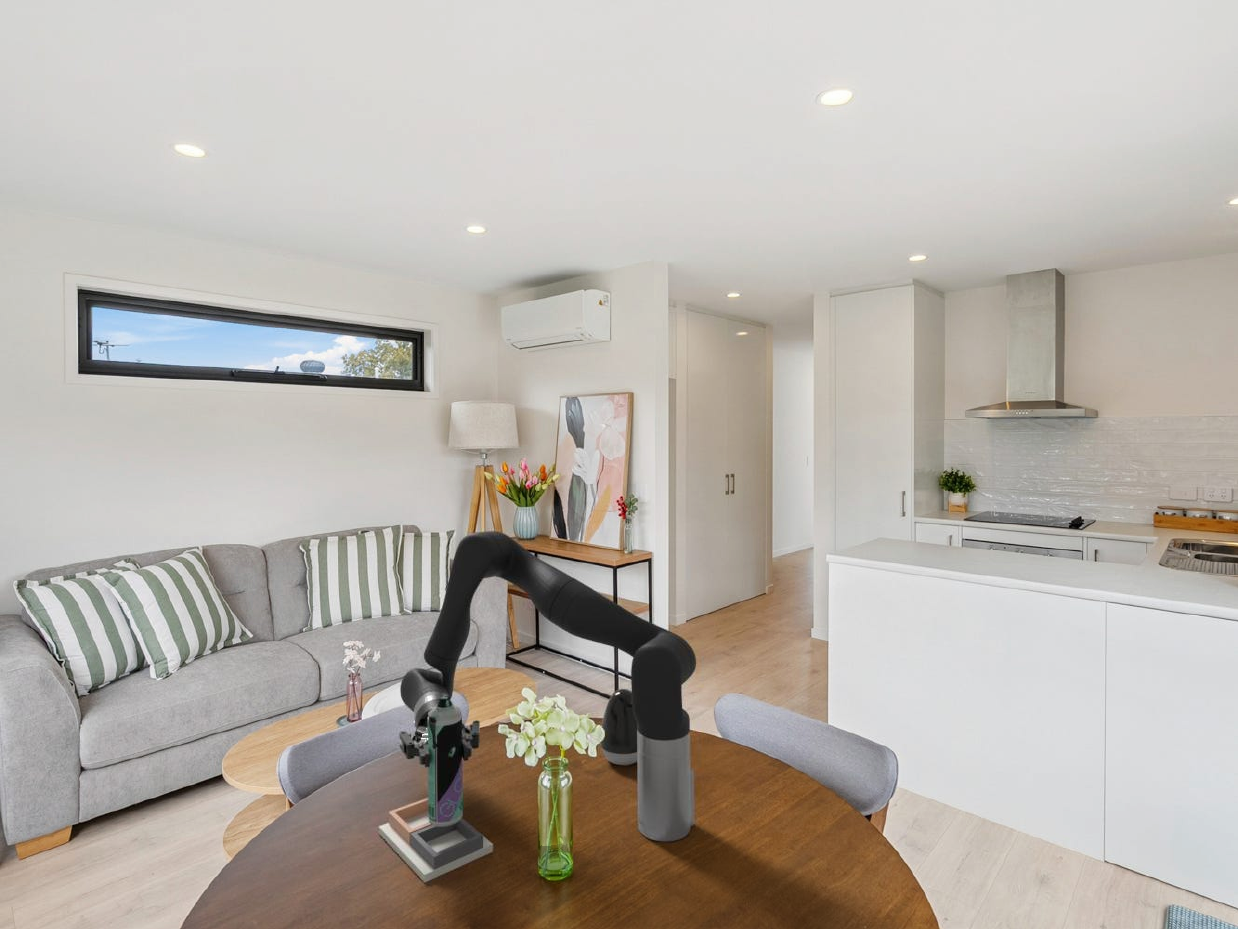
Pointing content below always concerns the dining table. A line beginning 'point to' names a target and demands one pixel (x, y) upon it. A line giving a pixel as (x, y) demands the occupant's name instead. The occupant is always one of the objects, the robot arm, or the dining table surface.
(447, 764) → the spray can
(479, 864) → the dining table surface
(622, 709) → the black egg shaped dome
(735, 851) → the dining table surface
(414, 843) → the board
